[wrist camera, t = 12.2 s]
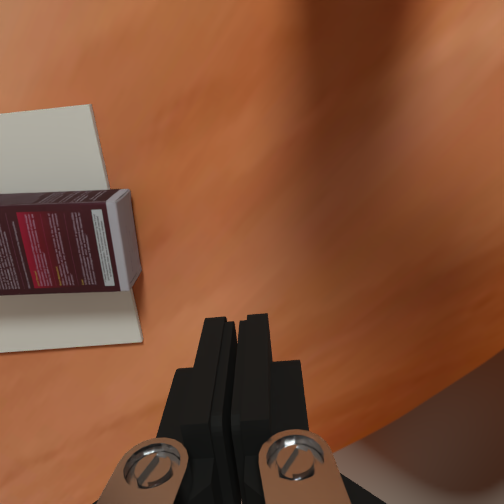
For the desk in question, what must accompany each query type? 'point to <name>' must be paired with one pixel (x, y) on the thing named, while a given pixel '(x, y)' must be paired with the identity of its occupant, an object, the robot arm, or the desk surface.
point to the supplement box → (67, 242)
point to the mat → (59, 180)
